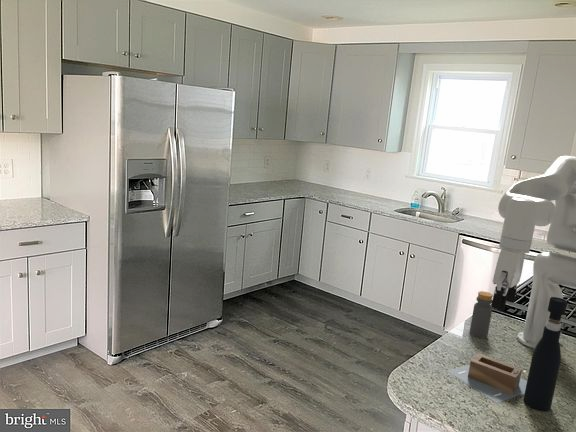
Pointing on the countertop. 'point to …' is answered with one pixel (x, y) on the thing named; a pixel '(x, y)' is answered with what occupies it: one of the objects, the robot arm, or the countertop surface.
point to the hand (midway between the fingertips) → (502, 305)
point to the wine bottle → (546, 360)
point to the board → (487, 386)
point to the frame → (495, 373)
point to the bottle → (481, 315)
